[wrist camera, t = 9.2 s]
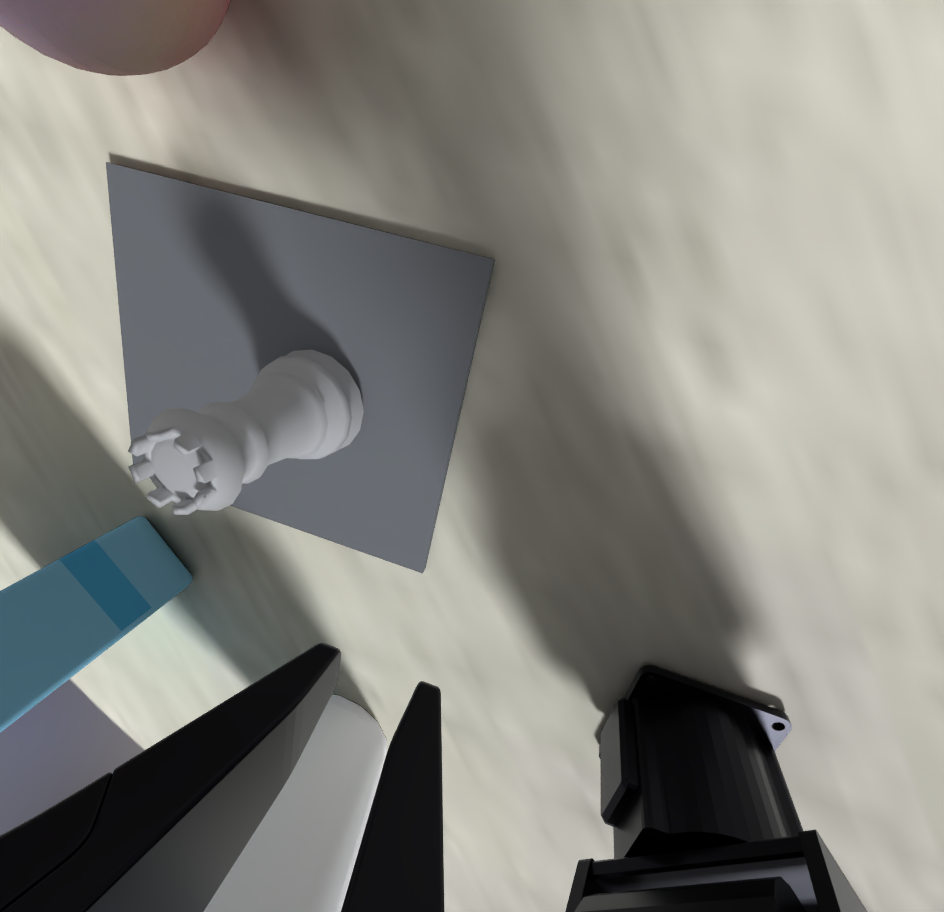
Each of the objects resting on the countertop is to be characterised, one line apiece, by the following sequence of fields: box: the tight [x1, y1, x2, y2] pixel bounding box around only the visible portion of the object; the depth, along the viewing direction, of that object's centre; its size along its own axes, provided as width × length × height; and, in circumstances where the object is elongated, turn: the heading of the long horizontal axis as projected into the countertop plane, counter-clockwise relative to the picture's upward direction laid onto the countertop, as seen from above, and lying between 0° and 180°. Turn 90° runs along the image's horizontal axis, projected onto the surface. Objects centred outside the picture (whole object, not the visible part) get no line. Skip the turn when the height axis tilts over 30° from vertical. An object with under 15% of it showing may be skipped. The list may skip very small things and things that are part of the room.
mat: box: [106, 162, 494, 573], centre depth 21 cm, size 16×14×1 cm
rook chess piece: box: [128, 350, 364, 515], centre depth 17 cm, size 4×4×8 cm
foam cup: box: [204, 695, 387, 912], centre depth 23 cm, size 10×9×13 cm
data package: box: [0, 516, 193, 732], centre depth 23 cm, size 12×4×12 cm, turn 122°
